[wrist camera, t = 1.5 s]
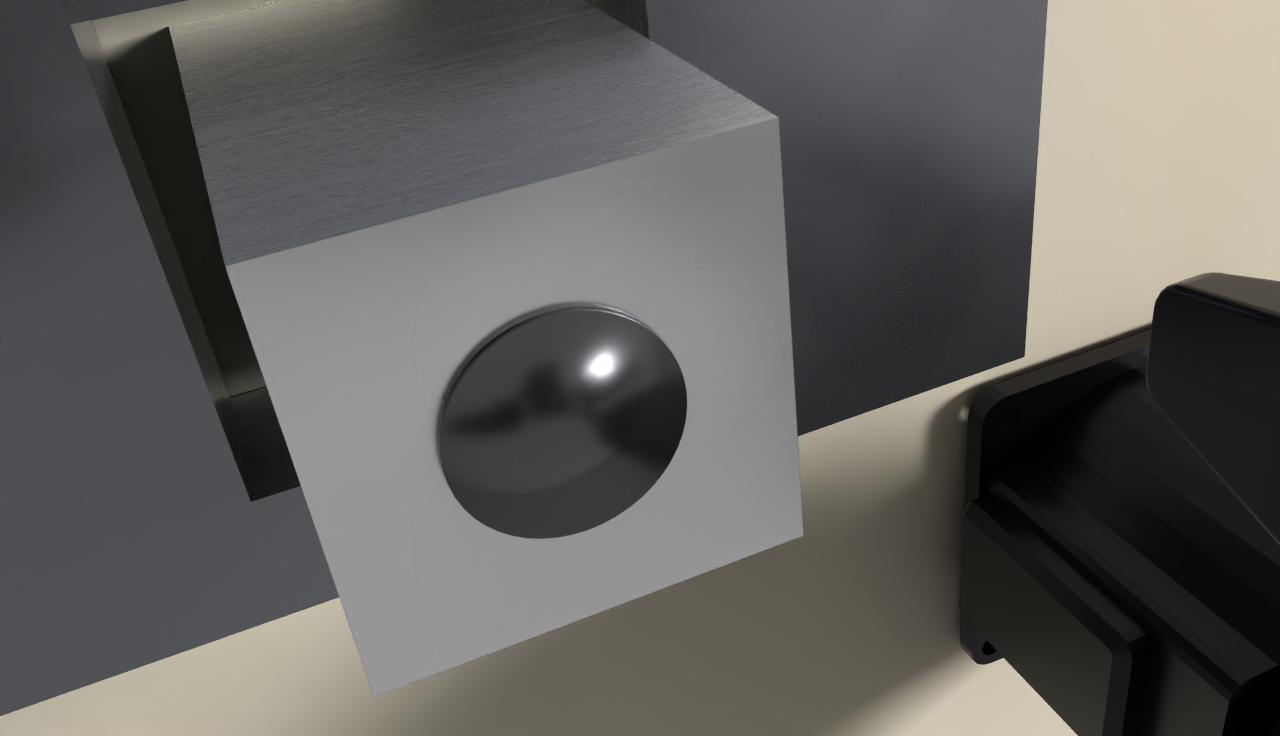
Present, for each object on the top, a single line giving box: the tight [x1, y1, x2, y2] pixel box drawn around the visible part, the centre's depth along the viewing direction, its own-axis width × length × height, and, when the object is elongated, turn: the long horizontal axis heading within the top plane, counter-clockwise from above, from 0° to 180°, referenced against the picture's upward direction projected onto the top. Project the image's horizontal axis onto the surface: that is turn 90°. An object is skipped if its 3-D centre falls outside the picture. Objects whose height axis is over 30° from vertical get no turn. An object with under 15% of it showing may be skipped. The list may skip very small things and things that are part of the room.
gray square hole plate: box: [0, 0, 1048, 716], centre depth 14 cm, size 16×9×2 cm, turn 97°
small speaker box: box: [169, 0, 803, 697], centre depth 12 cm, size 4×4×7 cm
